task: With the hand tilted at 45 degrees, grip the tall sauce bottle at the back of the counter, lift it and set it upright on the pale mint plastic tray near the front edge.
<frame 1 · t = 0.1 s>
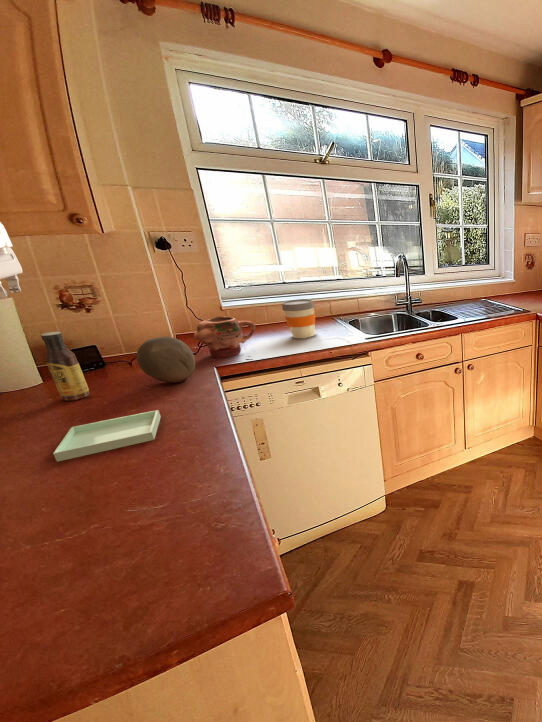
hand: (9, 295, 113), 31 cm above the counter, tool pointing down, fingers open, 8 cm apart
plastic tray: (114, 437, 103), on the counter
sauce bottle: (77, 398, 126), on the counter
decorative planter: (231, 353, 165), on the counter
cantaloupe: (174, 382, 137), on the counter
reusable coffee cup: (304, 335, 188), on the counter
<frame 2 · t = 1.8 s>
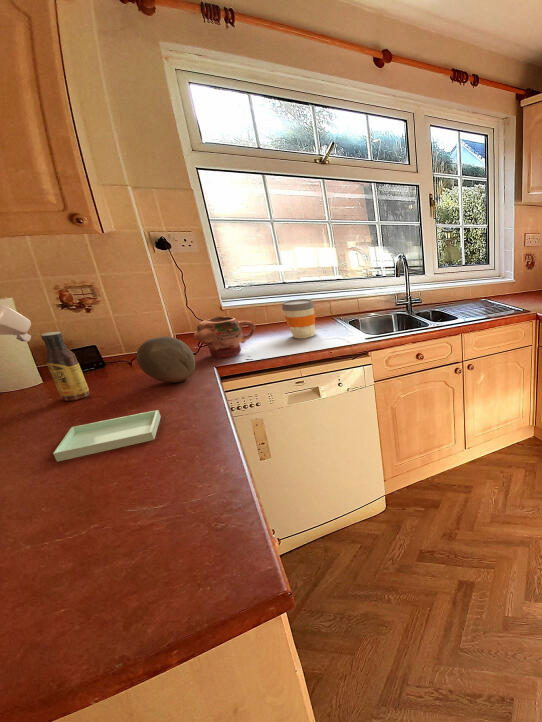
hand: (7, 339, 108), 21 cm above the counter, tool tilted 45°, fingers open, 8 cm apart
nothing on the counter moved.
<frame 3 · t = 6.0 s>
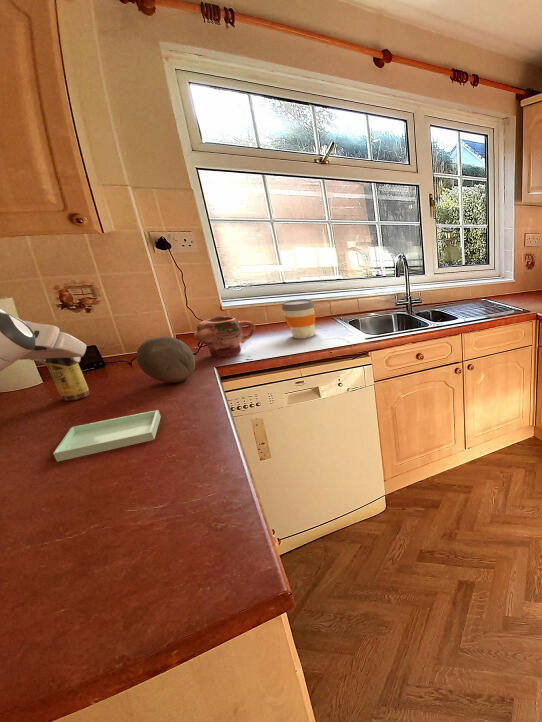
hand: (63, 360, 123), 11 cm above the counter, tool tilted 45°, fingers closed on sauce bottle, 6 cm apart
sauce bottle: (77, 398, 126), on the counter, touching gripper
everything else where it was.
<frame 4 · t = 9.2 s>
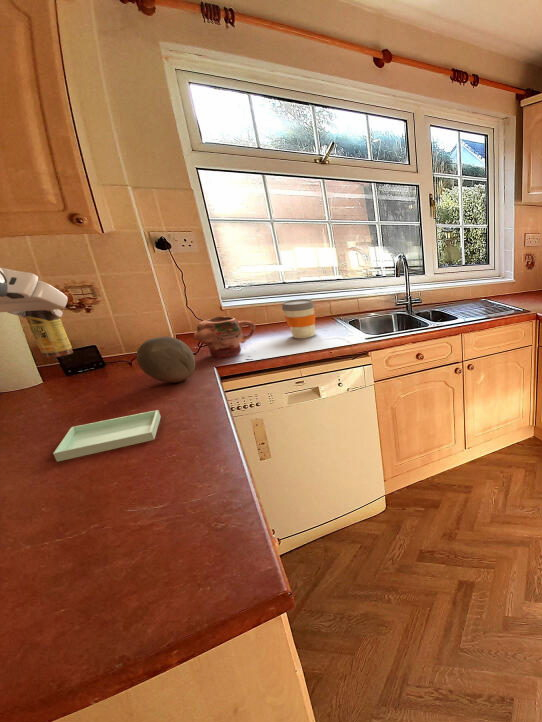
hand: (44, 315, 117), 25 cm above the counter, tool tilted 45°, fingers closed on sauce bottle, 6 cm apart
sauce bottle: (60, 356, 121), point 13 cm above the counter, touching gripper
everything else where it was.
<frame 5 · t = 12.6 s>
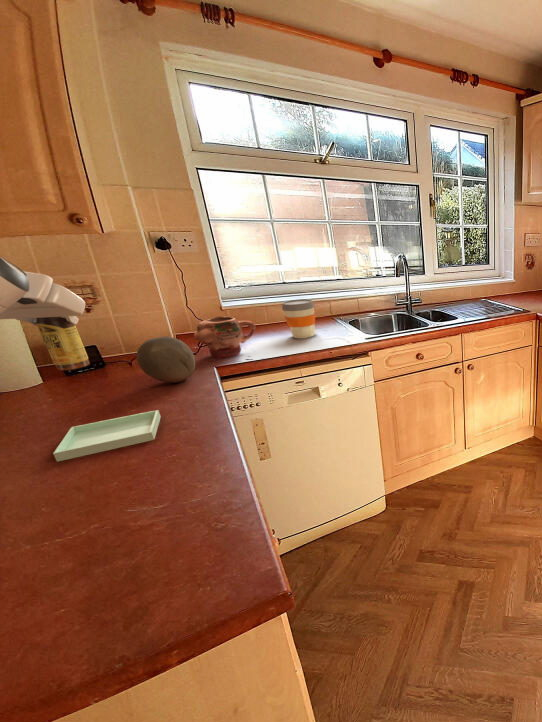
hand: (58, 322, 102), 26 cm above the counter, tool tilted 45°, fingers closed on sauce bottle, 6 cm apart
sauce bottle: (75, 368, 106), point 15 cm above the counter, touching gripper
everything else where it was.
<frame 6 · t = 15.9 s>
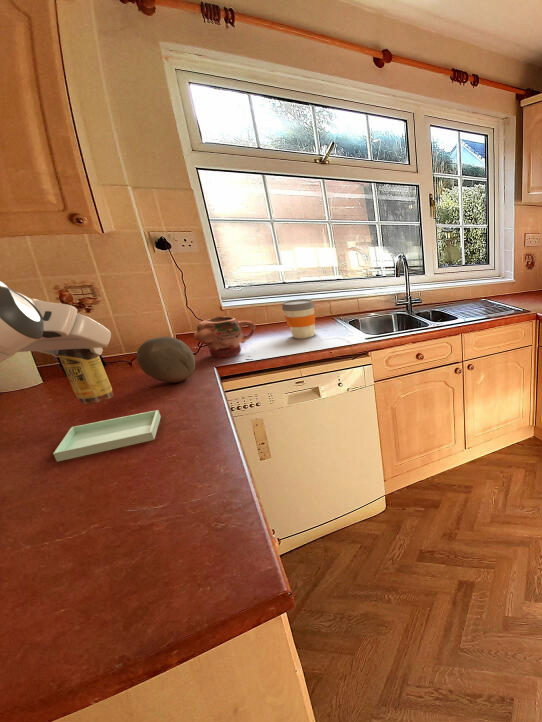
hand: (81, 353, 95), 21 cm above the counter, tool tilted 45°, fingers closed on sauce bottle, 6 cm apart
sauce bottle: (98, 400, 99), point 10 cm above the counter, touching gripper
everything else where it was.
when the fingers open (12 cm above the counter, at t = 19.0 s): sauce bottle stays where it is, resting on plastic tray.
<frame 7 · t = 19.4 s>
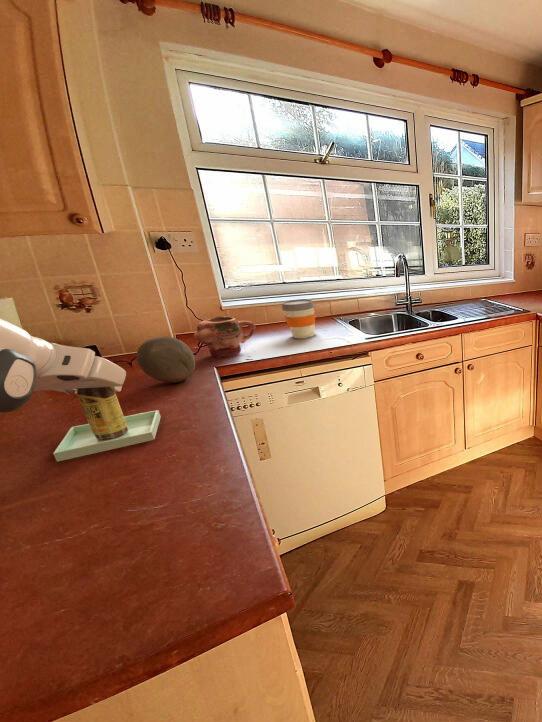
hand: (96, 389, 99), 12 cm above the counter, tool tilted 45°, fingers open, 8 cm apart
sauce bottle: (113, 435, 103), resting on plastic tray
everything else where it was.
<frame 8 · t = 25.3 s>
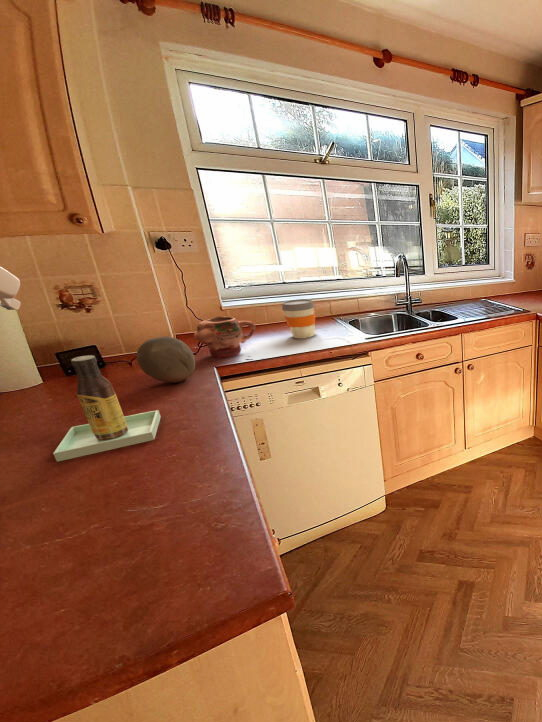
nothing on the counter moved.
at the end: sauce bottle inside the target area in the plastic tray (0.2 cm from its centre), point 0.4 cm above the plastic tray's base; sauce bottle tilted 0°; the gripper is holding nothing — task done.
